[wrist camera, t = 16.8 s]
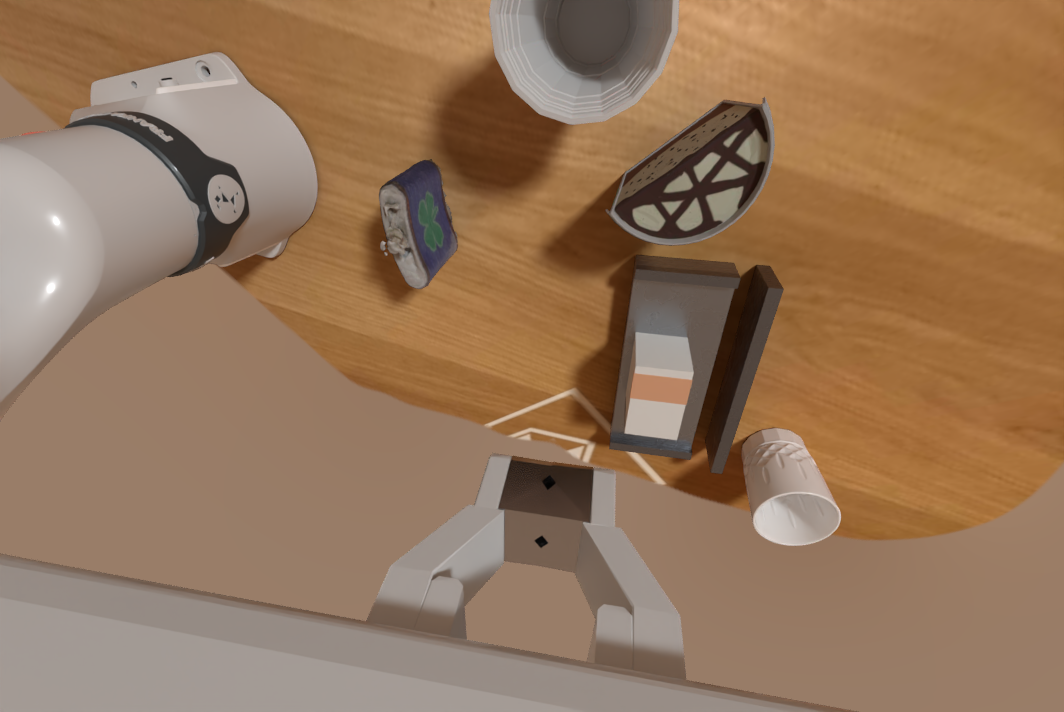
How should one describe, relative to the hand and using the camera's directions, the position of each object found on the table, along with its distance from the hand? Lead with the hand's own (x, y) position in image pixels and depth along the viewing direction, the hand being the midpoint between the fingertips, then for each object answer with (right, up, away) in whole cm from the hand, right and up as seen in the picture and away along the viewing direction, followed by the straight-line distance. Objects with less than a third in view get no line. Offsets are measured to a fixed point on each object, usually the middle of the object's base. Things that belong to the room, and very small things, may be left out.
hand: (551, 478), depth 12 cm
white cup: (+27, -8, +45) cm, 53 cm away
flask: (-10, +18, +36) cm, 41 cm away
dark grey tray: (+15, +3, +40) cm, 43 cm away
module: (+12, +2, +38) cm, 40 cm away
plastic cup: (+4, +28, +26) cm, 39 cm away
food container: (+13, +19, +30) cm, 38 cm away
